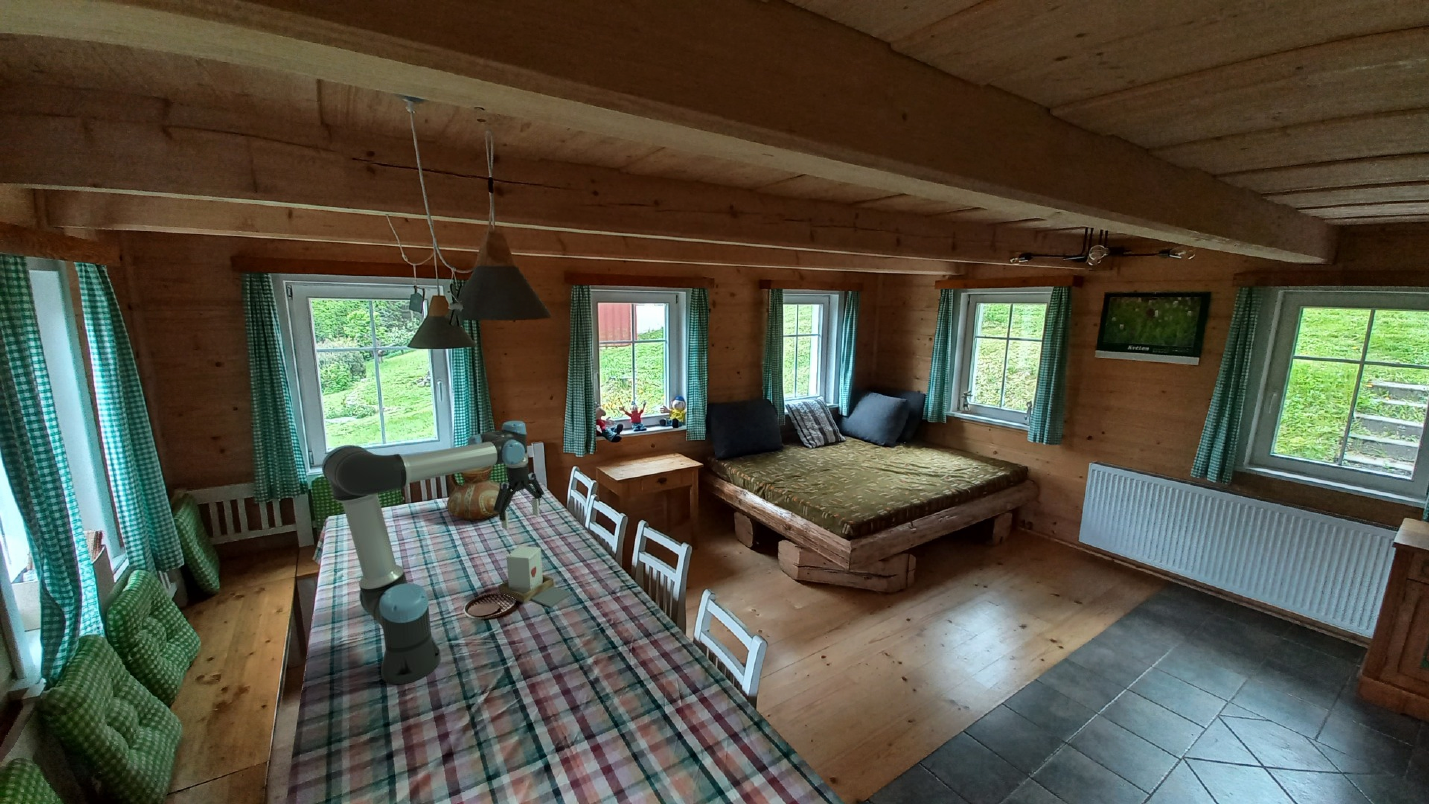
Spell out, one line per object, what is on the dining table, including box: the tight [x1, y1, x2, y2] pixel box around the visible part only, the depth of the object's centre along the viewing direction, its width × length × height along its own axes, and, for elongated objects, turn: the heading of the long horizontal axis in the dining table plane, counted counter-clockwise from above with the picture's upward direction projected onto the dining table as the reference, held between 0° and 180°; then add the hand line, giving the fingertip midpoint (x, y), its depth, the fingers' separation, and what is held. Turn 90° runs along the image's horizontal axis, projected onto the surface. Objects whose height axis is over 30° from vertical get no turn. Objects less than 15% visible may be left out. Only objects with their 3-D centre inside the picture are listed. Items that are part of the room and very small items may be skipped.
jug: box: [446, 465, 513, 522], centre depth 267 cm, size 30×30×25 cm
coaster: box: [530, 585, 573, 608], centre depth 193 cm, size 10×10×1 cm
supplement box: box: [506, 545, 543, 594], centre depth 197 cm, size 9×9×15 cm
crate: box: [497, 574, 555, 604], centre depth 198 cm, size 14×14×3 cm
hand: (521, 521), depth 194 cm, fingers open, 13 cm apart
